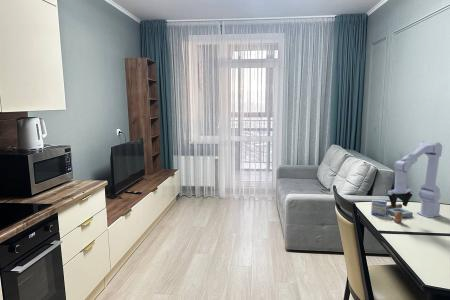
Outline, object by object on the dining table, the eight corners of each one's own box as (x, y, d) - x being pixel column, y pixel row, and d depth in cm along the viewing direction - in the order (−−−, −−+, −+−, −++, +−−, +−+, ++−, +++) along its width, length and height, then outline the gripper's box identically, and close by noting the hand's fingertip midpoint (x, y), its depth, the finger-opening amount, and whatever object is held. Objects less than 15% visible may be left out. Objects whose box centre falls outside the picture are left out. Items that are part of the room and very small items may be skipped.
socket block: (399, 211, 196) (399, 207, 196) (412, 216, 187) (412, 212, 186) (385, 212, 194) (385, 208, 193) (398, 218, 184) (398, 214, 184)
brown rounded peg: (398, 220, 180) (398, 210, 179) (403, 223, 177) (403, 212, 176) (392, 221, 179) (393, 211, 179) (397, 223, 176) (398, 213, 175)
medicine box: (371, 214, 191) (372, 200, 189) (370, 212, 195) (371, 198, 194) (386, 216, 188) (387, 202, 187) (385, 213, 192) (386, 200, 191)
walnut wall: (397, 209, 200) (397, 202, 200) (401, 210, 197) (402, 204, 196) (378, 211, 197) (378, 204, 196) (382, 213, 193) (383, 206, 193)
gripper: (395, 185, 169) (393, 209, 171) (417, 183, 173) (415, 207, 175) (385, 182, 176) (384, 205, 178) (407, 180, 180) (405, 203, 182)
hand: (399, 206), depth 177 cm, fingers open, 7 cm apart
